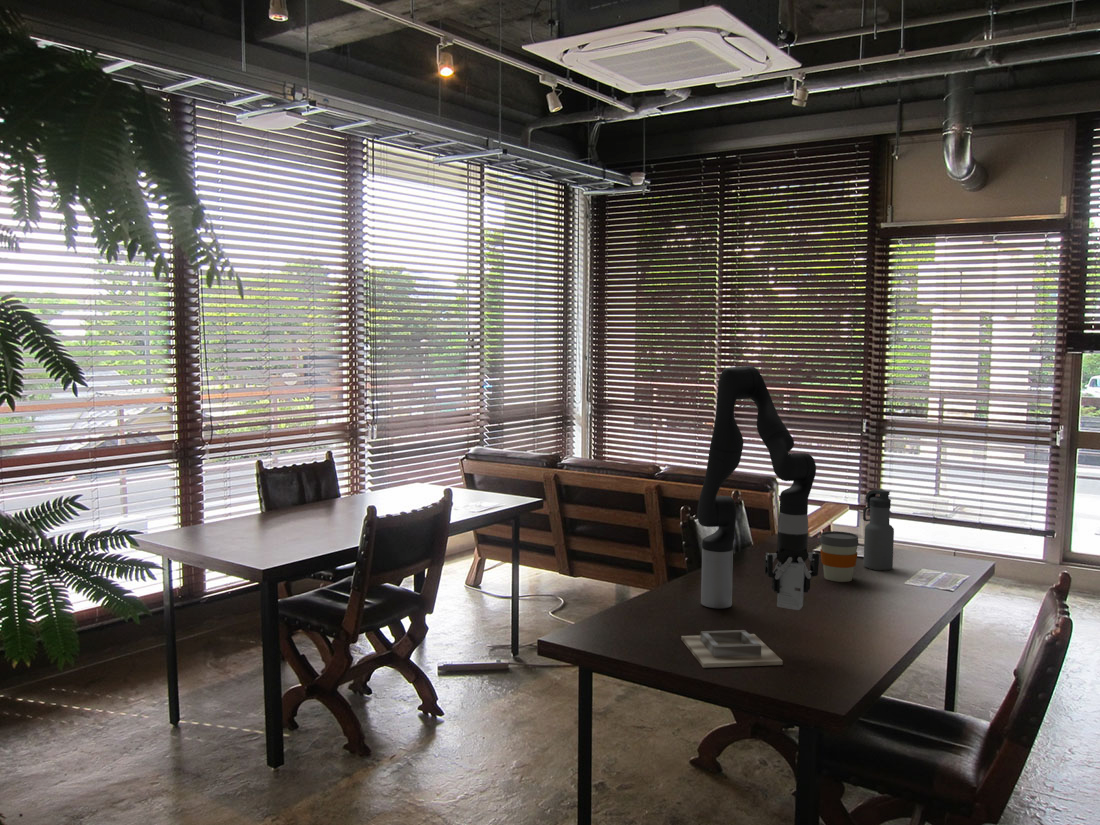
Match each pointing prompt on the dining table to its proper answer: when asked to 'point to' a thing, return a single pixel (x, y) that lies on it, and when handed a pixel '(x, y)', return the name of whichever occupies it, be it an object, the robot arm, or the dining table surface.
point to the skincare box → (791, 586)
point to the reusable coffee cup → (838, 555)
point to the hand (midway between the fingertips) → (790, 592)
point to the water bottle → (878, 532)
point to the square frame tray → (730, 649)
